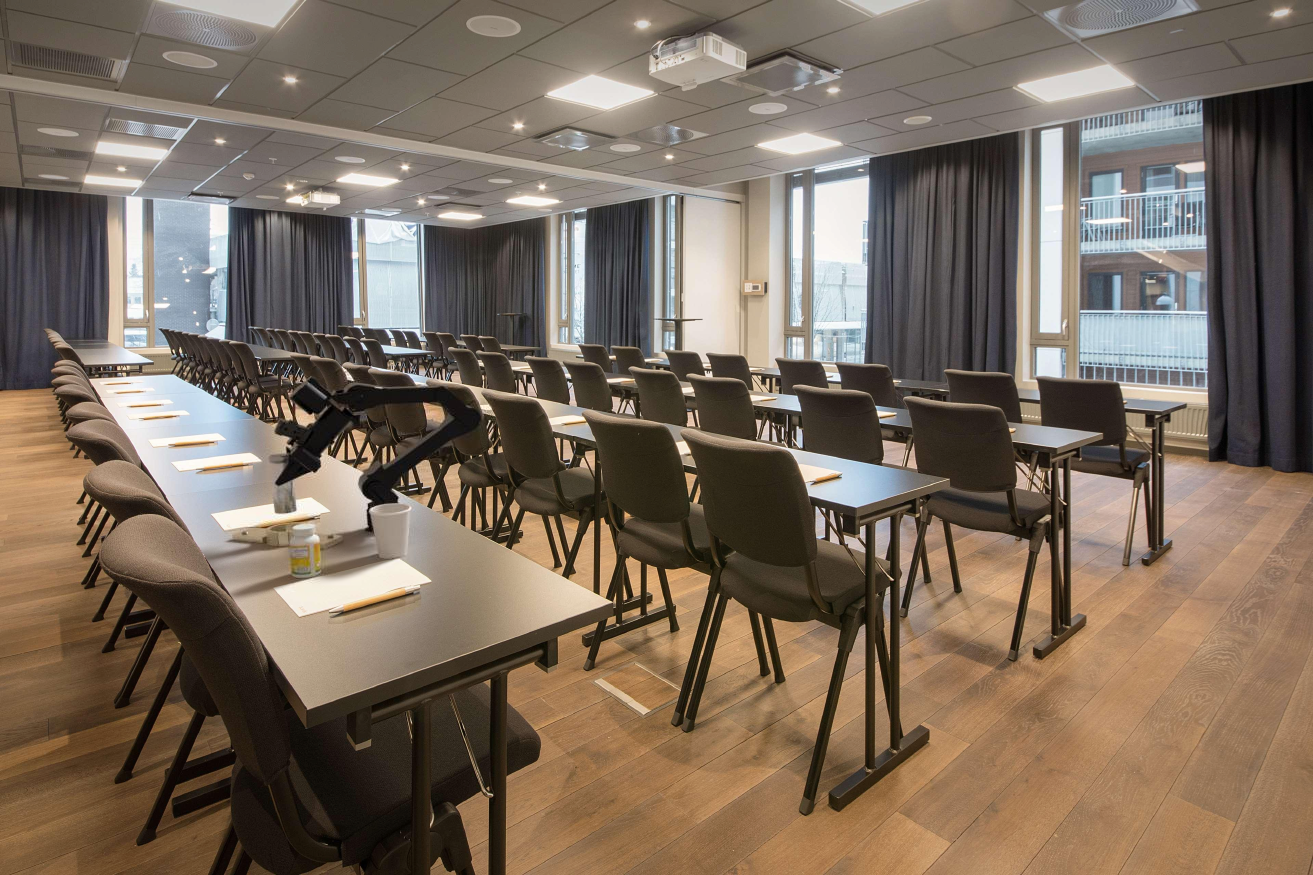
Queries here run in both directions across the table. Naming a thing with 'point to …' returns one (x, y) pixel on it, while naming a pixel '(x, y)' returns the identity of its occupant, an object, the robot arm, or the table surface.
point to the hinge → (282, 535)
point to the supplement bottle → (305, 551)
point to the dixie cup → (391, 529)
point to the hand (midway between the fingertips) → (276, 482)
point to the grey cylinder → (282, 486)
